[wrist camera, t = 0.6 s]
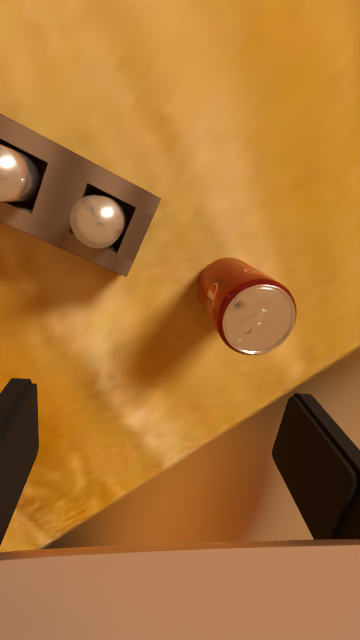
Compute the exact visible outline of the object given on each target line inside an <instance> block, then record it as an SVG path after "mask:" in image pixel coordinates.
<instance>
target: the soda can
mask: <svg viewBox="0 0 360 640" xmlns="http://www.w3.org/2000/svg"><path fill="white" fill-rule="evenodd" d="M197 292H198V297H199V300H200V302H201V304H202V306H203V307H204V309H205V311H206V313H207V314H208V316H209V318H210V320H211V321H212V323H213V325H214V326H215V328H216V330H217V332H218V333H219V335H220V337H221V338H222V340H223V341H224V343H225V344H226V345H227V346H228V347H229V348H231V349H232V350H234V351H236V352H238V353H241V354H246V355H259V354H264V353H267V352H269V351H272V350H273V349H275V348H277V347H278V346H279V345H281V344H282V343H283V342H284V341H285V340H286V339H287V337H288V336H289V335H290V333H291V331H292V329H293V327H294V324H295V321H296V315H297V314H296V305H295V301H294V298H293V296H292V294H291V293H290V291H289V290H288V289H287V288H286V287H285V286H283V285H282V284H281V283H279V282H277V281H276V280H274V279H272V278H271V277H269V276H267V275H265V274H264V273H262V272H260V271H259V270H257V269H255V268H253V267H252V266H250V265H248V264H247V263H245V262H243V261H241V260H239V259H236V258H222V259H219V260H216V261H214V262H212V263H211V264H209V265H208V266H207V267H206V268H205V269H204V271H203V272H202V274H201V276H200V278H199V281H198V285H197Z"/></svg>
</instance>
